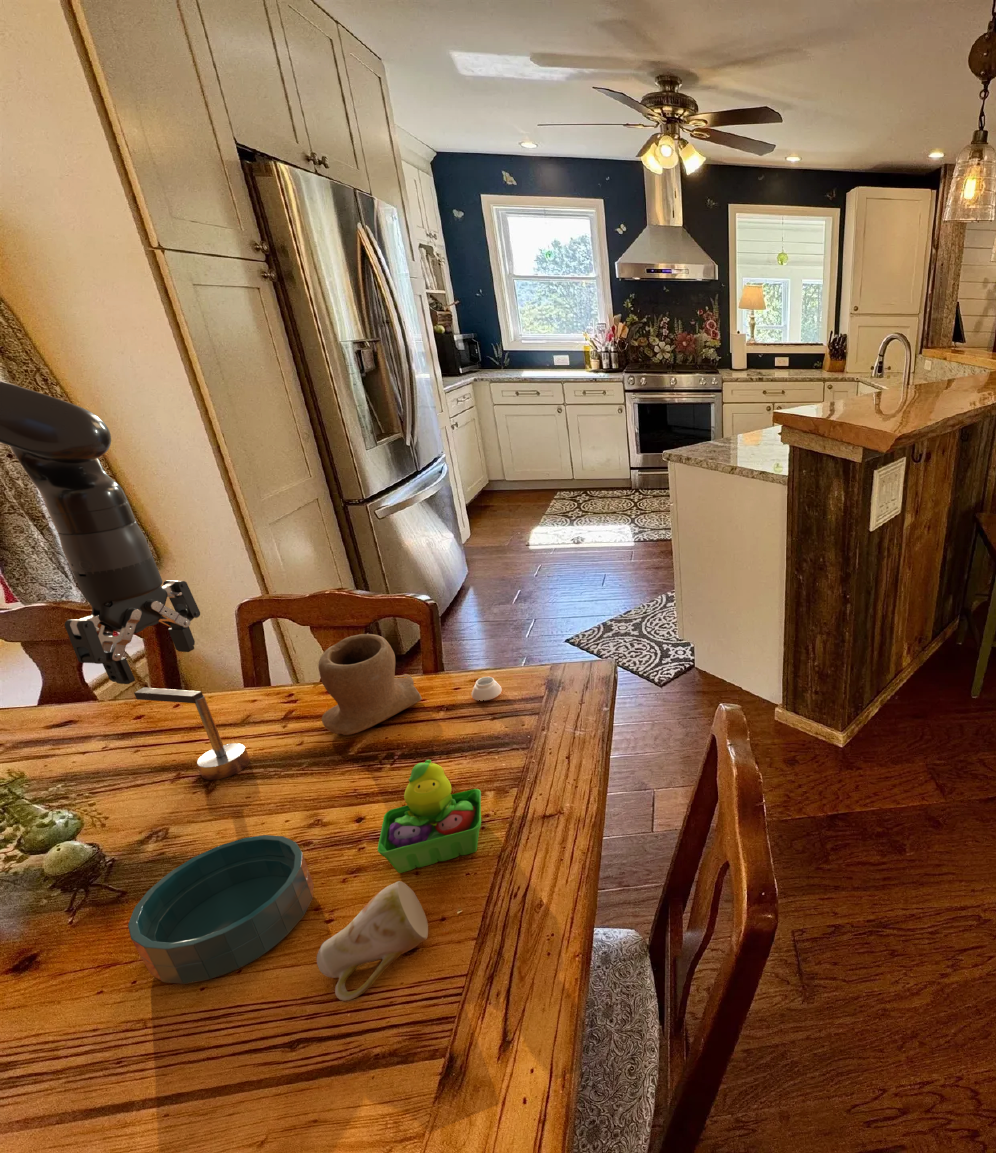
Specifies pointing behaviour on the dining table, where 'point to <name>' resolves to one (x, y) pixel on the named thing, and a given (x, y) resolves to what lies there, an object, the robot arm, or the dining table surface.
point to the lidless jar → (486, 689)
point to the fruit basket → (430, 821)
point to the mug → (374, 937)
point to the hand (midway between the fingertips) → (157, 666)
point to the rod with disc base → (221, 757)
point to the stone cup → (363, 684)
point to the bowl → (222, 909)
